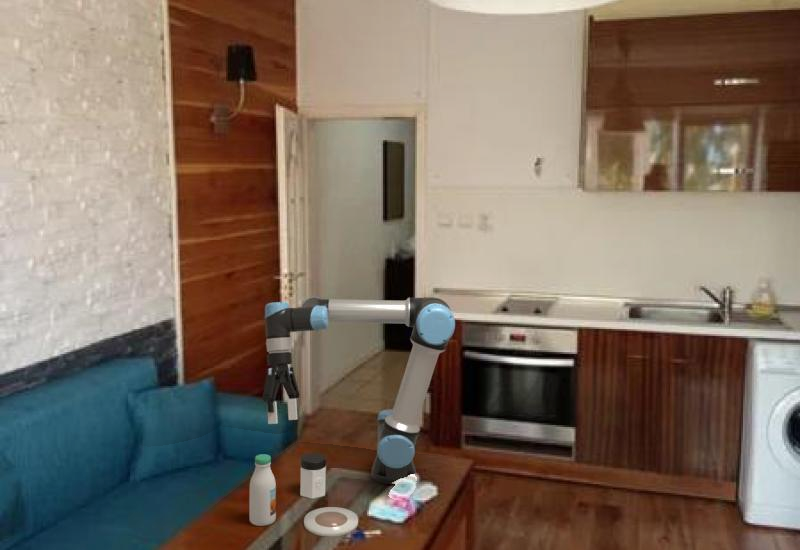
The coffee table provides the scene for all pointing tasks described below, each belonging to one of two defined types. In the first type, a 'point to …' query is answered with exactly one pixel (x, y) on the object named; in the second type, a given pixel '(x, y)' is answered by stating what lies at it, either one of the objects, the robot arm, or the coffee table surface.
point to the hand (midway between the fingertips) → (283, 421)
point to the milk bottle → (262, 493)
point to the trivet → (331, 521)
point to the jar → (313, 475)
